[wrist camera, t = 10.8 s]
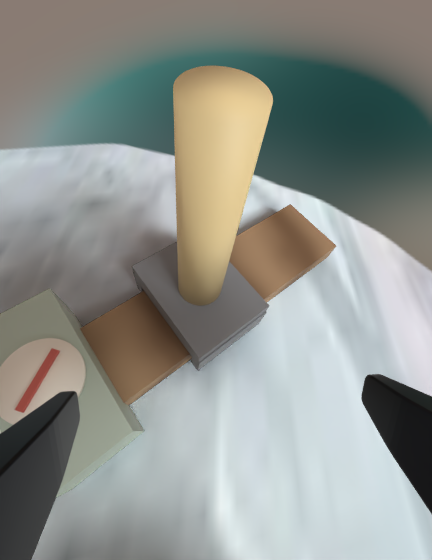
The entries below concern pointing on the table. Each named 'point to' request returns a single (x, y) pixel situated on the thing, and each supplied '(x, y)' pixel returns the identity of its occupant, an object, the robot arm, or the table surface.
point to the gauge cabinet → (61, 382)
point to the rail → (158, 334)
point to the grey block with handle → (209, 211)
